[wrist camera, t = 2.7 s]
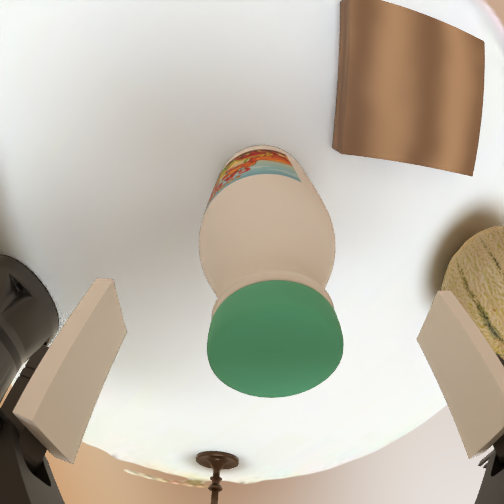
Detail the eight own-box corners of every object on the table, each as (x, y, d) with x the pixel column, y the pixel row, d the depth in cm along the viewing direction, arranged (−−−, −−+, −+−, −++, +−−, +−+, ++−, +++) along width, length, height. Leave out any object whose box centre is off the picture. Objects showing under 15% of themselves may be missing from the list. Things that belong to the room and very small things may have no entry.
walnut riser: (332, 147, 25) (341, 153, 23) (340, 2, 19) (350, -8, 16) (455, 168, 25) (472, 176, 23) (466, 43, 19) (484, 41, 16)
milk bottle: (315, 156, 26) (432, 288, 8) (291, 233, 29) (334, 426, 12) (228, 135, 25) (166, 231, 7) (211, 216, 28) (155, 404, 11)
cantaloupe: (494, 183, 26) (586, 242, 13) (512, 267, 31) (572, 333, 18) (402, 255, 30) (472, 353, 17) (436, 327, 36) (483, 411, 22)
